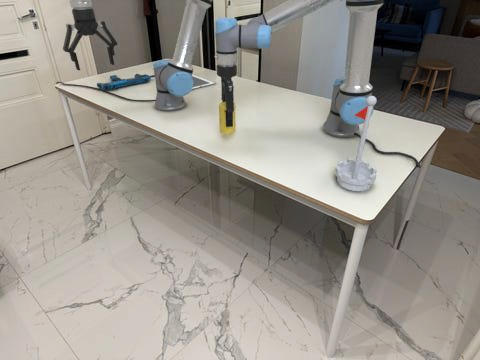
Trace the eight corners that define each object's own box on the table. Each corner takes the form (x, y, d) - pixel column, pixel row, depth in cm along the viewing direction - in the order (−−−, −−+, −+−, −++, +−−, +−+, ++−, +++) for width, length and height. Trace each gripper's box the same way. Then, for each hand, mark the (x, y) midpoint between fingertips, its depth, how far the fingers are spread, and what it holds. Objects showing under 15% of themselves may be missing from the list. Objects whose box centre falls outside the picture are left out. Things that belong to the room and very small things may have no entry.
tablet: (159, 78, 216) (159, 77, 215) (186, 72, 227) (186, 71, 226) (187, 90, 195) (187, 90, 195) (215, 83, 206) (215, 82, 206)
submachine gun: (141, 68, 225) (159, 74, 208) (142, 74, 227) (160, 80, 210) (89, 78, 206) (104, 86, 190) (91, 84, 208) (106, 92, 192)
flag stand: (357, 168, 122) (375, 86, 106) (382, 188, 112) (406, 100, 96) (326, 176, 118) (340, 91, 102) (349, 196, 108) (368, 106, 92)
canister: (238, 132, 138) (238, 105, 132) (224, 136, 135) (224, 108, 129) (230, 126, 143) (229, 100, 136) (216, 130, 140) (215, 103, 133)
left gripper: (48, 12, 116) (65, 74, 128) (119, 6, 129) (129, 63, 140) (43, 9, 121) (60, 70, 133) (111, 4, 134) (122, 60, 145)
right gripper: (212, 58, 132) (215, 114, 144) (220, 72, 116) (222, 133, 128) (231, 57, 133) (232, 113, 146) (242, 71, 117) (241, 132, 130)
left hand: (95, 66), depth 137 cm, fingers open, 13 cm apart
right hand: (227, 122), depth 137 cm, fingers closed on canister, 6 cm apart
